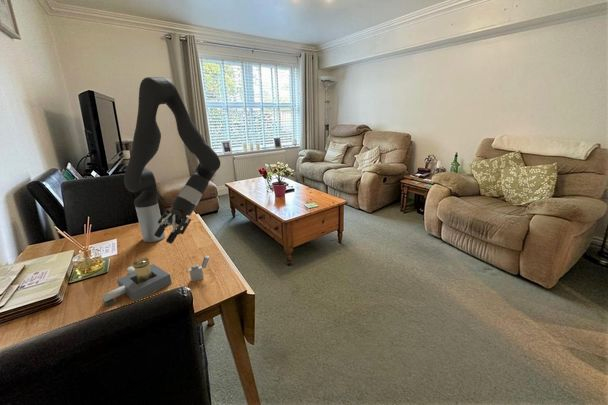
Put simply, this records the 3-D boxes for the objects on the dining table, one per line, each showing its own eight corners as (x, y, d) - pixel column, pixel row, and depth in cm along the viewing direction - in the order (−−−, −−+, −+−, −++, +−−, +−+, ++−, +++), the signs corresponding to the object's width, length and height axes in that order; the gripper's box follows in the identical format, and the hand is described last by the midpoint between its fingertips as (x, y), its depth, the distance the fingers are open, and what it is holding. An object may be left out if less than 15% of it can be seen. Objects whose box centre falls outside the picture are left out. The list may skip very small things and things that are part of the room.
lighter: (191, 281, 94) (187, 261, 92) (191, 278, 96) (187, 259, 93) (212, 276, 97) (209, 256, 95) (211, 273, 99) (208, 254, 96)
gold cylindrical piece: (136, 286, 92) (129, 262, 89) (150, 279, 96) (144, 256, 93) (142, 291, 90) (136, 267, 87) (157, 284, 93) (151, 260, 90)
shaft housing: (93, 292, 90) (90, 283, 89) (148, 267, 104) (146, 259, 103) (113, 312, 80) (110, 302, 79) (171, 282, 94) (169, 274, 93)
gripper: (169, 192, 101) (143, 230, 96) (190, 198, 93) (163, 241, 88) (184, 201, 107) (161, 238, 102) (205, 208, 99) (181, 248, 94)
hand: (162, 239), depth 95 cm, fingers open, 8 cm apart
